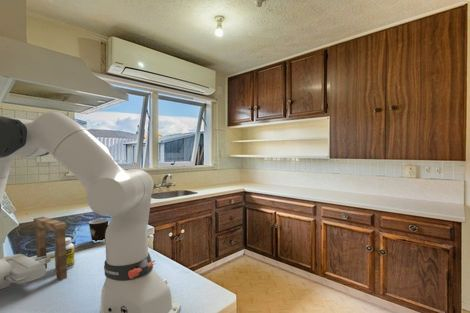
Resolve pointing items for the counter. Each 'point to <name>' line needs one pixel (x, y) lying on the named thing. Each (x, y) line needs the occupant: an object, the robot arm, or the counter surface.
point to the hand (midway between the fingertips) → (48, 258)
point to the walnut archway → (60, 243)
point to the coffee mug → (98, 228)
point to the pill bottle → (68, 253)
